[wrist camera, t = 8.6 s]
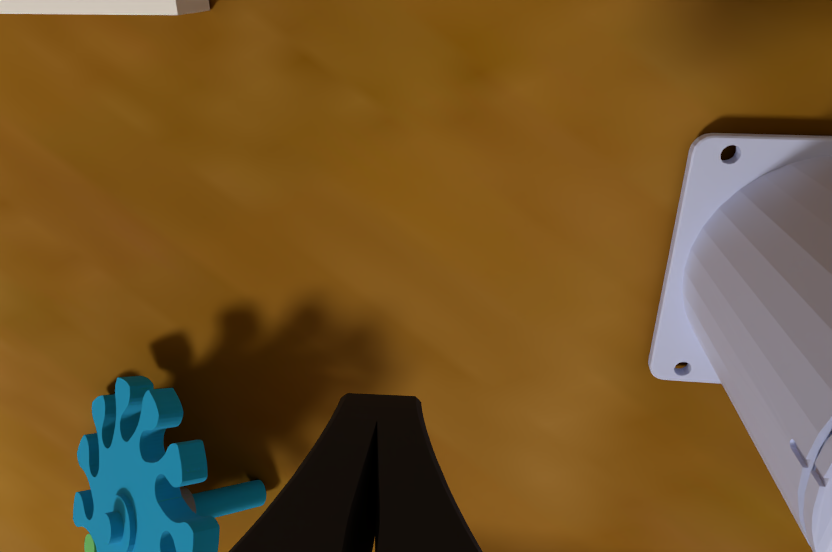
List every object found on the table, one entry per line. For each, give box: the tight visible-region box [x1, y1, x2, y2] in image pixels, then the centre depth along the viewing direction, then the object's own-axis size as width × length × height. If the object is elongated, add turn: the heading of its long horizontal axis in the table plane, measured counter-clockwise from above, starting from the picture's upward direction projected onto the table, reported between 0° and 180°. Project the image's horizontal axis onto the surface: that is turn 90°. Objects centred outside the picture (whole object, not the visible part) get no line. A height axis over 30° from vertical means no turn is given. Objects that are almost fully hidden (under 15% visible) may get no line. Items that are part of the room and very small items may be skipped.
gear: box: [73, 376, 266, 552], centre depth 23 cm, size 11×6×10 cm
